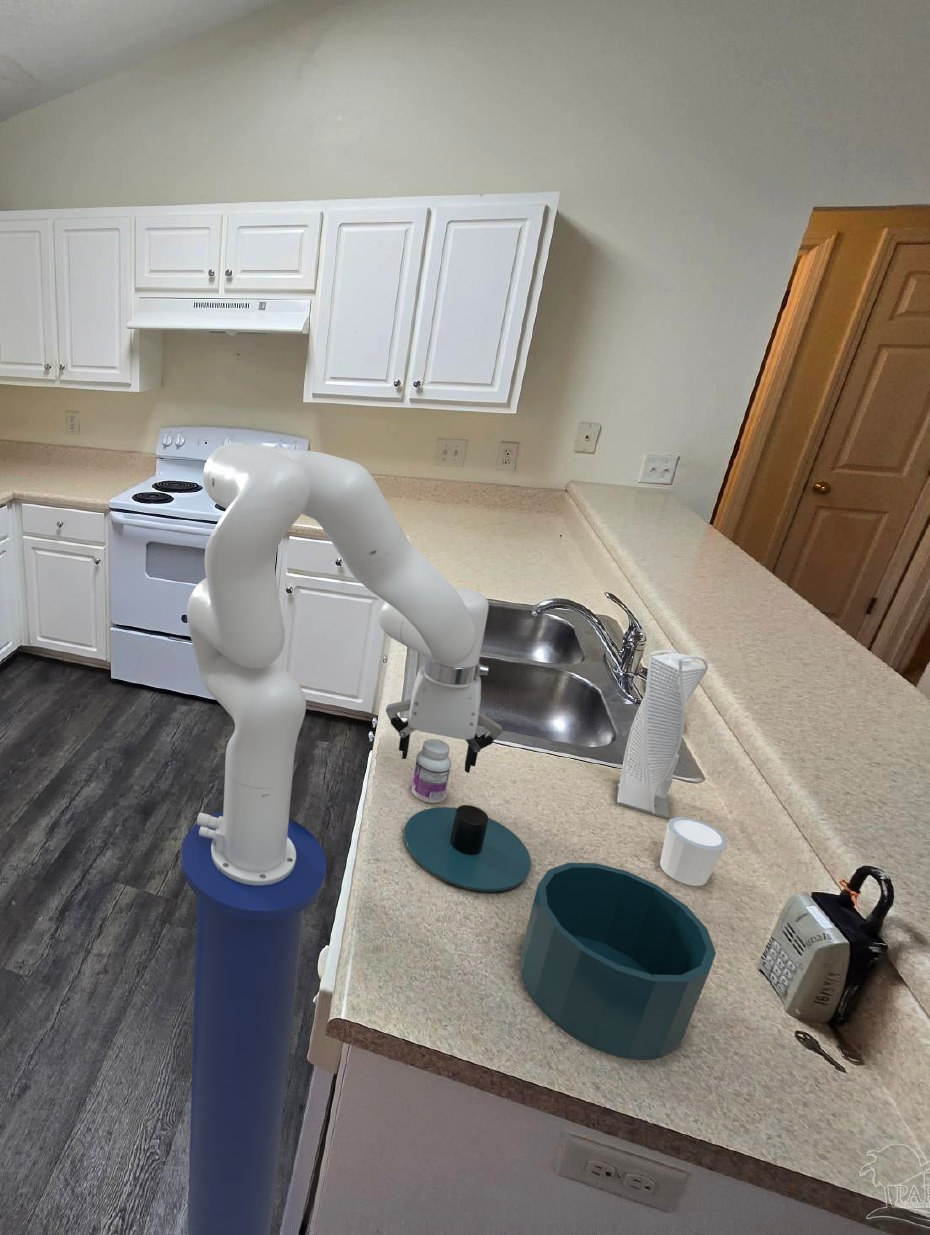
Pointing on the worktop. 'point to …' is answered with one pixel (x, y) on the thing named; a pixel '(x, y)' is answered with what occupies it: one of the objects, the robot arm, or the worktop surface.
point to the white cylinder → (691, 850)
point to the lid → (467, 848)
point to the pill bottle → (432, 771)
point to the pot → (614, 959)
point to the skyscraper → (658, 732)
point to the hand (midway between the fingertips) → (435, 761)
